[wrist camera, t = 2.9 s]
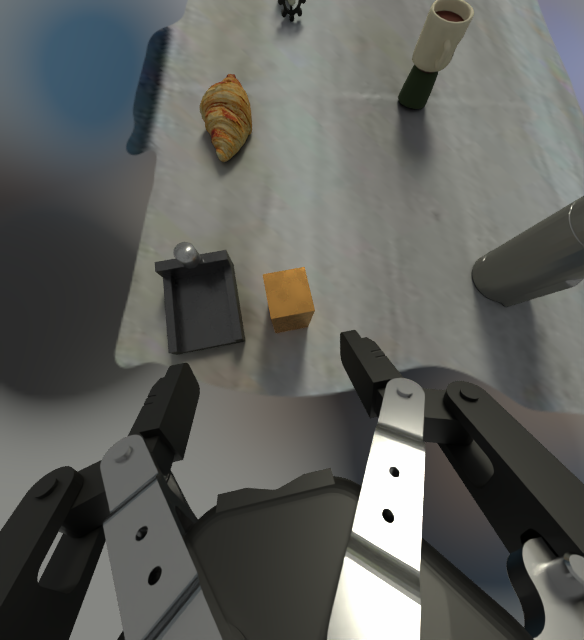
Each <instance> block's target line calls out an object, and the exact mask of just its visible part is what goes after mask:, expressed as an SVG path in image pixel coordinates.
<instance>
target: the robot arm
mask: <svg viewBox="0 0 584 640" xmlns="http://www.w3.org/2000/svg"><path fill="white" fill-rule="evenodd" d="M472 276H473V281H474V283H475V285H476V287H477V288H478V290H479V291H480V292H481V293H482V294H483V295H485V296H486V297H487V298H489V299H491V300H494V301H497V302H501V303H502V304H503V305H504V306H506V307H508V306H512V305H515V304H518V303H522V302H525V301H528V300H531V299H535V298H538V297H541V296H545V295H548V294H551V293H555V292H558V291H561V290H564V289H568V288H571V287H574V286H576V285H577V284H578V283H579V282H581V281H582V280H583V279H584V196H582V197H581V198H579V199H577V200H576V201H574V202H572V203H571V204H569V205H567V206H566V207H564V208H562V209H561V210H559V211H557V212H556V213H554V214H552V215H551V216H549V217H547V218H546V219H544V220H542V221H541V222H539V223H537V224H536V225H534V226H532V227H531V228H529V229H527V230H526V231H524V232H522V233H521V234H519V235H517V236H516V237H514V238H512V239H511V240H509V241H507V242H506V243H504V244H503V245H501V246H499V247H498V248H496V249H494V250H492V251H490V252H489V253H487V254H486V255H484V256H483V257H481V258H480V259H478V260H477V261H476V262H475V264H474V266H473V270H472ZM340 355H341V361H342V364H343V366H344V368H345V370H346V372H347V374H348V376H349V378H350V380H351V382H352V384H353V386H354V388H355V390H356V392H357V394H358V396H359V398H360V400H361V402H362V403H363V406H364V407H365V409H366V411H367V413H368V415H369V417H370V418H374V417H378V418H379V420H378V424H377V426H376V429H375V433H374V437H373V442H372V446H371V450H370V455H369V459H368V463H367V467H366V472H365V476H364V480H363V485H362V486H361V485H359V484H357V483H355V482H353V481H351V480H348V479H346V478H342V477H335V476H333V475H332V471H331V468H328V469H324V470H320V471H315V472H311V473H307V474H303V475H302V476H300V477H298V478H296V479H295V480H293V481H291V482H290V483H287V484H286V485H284V486H282V487H281V488H279V489H276V490H267V489H253V488H244V489H240V490H236V491H231V492H227V493H223V494H219V495H218V499H217V505H216V506H214V507H213V508H211V509H210V510H209V511H207V512H206V513H205V514H204V515H203V516H202V517H201V518H200V519H199V520H198V519H197V517H196V516H195V514H194V513H193V511H192V510H191V508H190V507H189V505H188V503H187V501H186V499H185V497H184V495H183V493H182V491H181V489H180V487H179V485H178V483H177V481H176V479H175V477H174V475H173V473H172V472H171V466H172V463H173V462H175V461H180V460H183V458H184V454H185V450H186V446H187V442H188V439H189V435H190V431H191V426H192V423H193V419H194V415H195V410H196V407H197V403H198V399H199V394H200V388H199V384H198V382H197V380H196V378H195V376H194V374H193V372H192V370H191V368H190V366H189V364H188V363H182V364H177V365H172V366H170V367H169V368H168V371H167V373H166V375H165V377H164V378H160V379H159V380H158V381H157V383H156V384H155V385H154V386H153V387H152V389H151V391H150V393H149V395H148V398H147V399H146V401H145V403H144V406H143V407H142V409H141V411H140V413H139V415H138V417H137V419H136V421H135V423H134V425H133V427H132V429H131V431H130V433H129V435H128V436H127V437H125V438H123V439H121V440H120V441H118V442H117V443H115V444H114V445H113V446H112V447H111V448H110V449H109V450H108V451H107V452H106V454H105V455H104V457H103V459H102V460H101V461H99V462H97V463H95V464H92V465H91V466H89V467H87V468H84V469H82V470H80V471H78V472H77V471H76V470H74V469H73V468H72V467H69V466H65V467H60V468H58V469H55V470H53V471H52V472H50V473H48V474H47V475H45V476H44V477H43V478H41V479H40V480H39V481H38V482H37V483H35V485H33V487H31V489H30V490H29V491H28V492H27V493H26V495H25V496H24V498H23V499H22V501H21V502H20V503H19V505H18V506H17V508H16V509H15V511H14V512H13V514H12V515H11V516H10V518H9V519H8V521H7V522H6V524H5V525H4V527H3V528H2V529H1V531H0V640H69V637H70V635H71V632H72V630H73V627H74V624H75V621H76V619H77V616H78V613H79V611H80V608H81V605H82V602H83V600H84V597H85V595H86V592H87V589H88V587H89V584H90V581H91V579H92V576H93V573H94V570H95V568H96V565H97V562H98V560H99V557H100V554H101V552H102V549H103V546H104V543H105V541H106V544H107V549H108V554H109V559H110V564H111V570H112V575H113V580H114V585H115V590H116V595H117V600H118V606H119V610H120V616H121V621H122V626H123V632H122V633H121V635H120V636H119V638H118V639H117V640H584V484H583V483H582V482H581V481H580V480H579V479H578V478H577V477H576V476H575V475H574V474H572V473H571V472H570V471H569V470H568V469H567V468H566V467H565V466H564V465H563V464H562V463H561V462H560V461H559V460H558V459H557V458H556V457H555V456H553V455H552V454H551V453H550V452H549V451H548V450H547V449H546V448H545V447H544V446H543V445H542V444H541V443H540V442H539V441H538V440H537V439H535V438H534V437H533V436H532V435H531V434H530V433H529V432H528V431H527V430H526V429H525V428H524V427H523V426H522V425H521V424H520V423H518V421H517V420H515V419H514V418H513V417H512V416H511V415H510V414H509V413H508V412H507V411H506V410H505V409H504V408H503V407H502V406H501V405H499V404H498V402H496V401H495V400H494V399H493V398H492V397H491V396H490V395H489V394H488V393H487V392H486V391H485V390H483V389H482V388H480V387H479V386H477V385H474V384H472V383H469V382H464V381H455V382H452V383H450V384H449V385H448V386H447V389H446V390H435V389H424V388H421V387H420V386H419V385H418V384H417V383H415V382H414V381H411V380H409V379H405V378H403V377H402V375H401V374H400V373H399V372H398V370H397V369H396V368H395V366H394V365H393V364H392V363H391V361H390V360H389V359H388V358H387V356H385V354H384V353H383V351H381V349H380V348H379V346H378V345H377V344H376V343H375V342H374V341H372V340H371V339H369V338H367V337H365V338H361V337H360V335H359V334H358V333H357V331H356V330H351V331H346V332H341V334H340ZM423 441H425V442H434V443H438V445H439V446H440V448H441V449H442V451H443V452H444V454H445V455H446V457H447V458H448V460H449V462H450V463H451V464H452V466H453V468H454V469H455V471H456V472H457V474H458V475H459V477H460V478H461V480H462V481H463V483H464V484H465V486H466V487H467V489H468V490H469V492H470V493H471V495H472V497H473V498H474V500H475V501H476V503H477V504H478V506H479V507H480V509H481V510H482V512H483V513H484V515H485V516H486V518H487V519H488V521H489V523H490V524H491V525H492V527H493V528H494V530H495V532H496V533H497V535H498V536H499V538H500V539H501V541H502V542H503V544H504V545H505V547H506V548H507V550H508V551H509V553H510V555H509V556H508V558H507V563H506V564H507V565H506V567H507V573H508V577H509V579H510V582H511V584H512V586H513V588H514V590H515V592H516V594H517V596H518V598H519V601H520V603H521V606H522V610H523V613H524V627H523V626H522V625H521V624H520V623H519V622H518V621H517V620H516V619H514V617H513V616H512V615H510V614H509V613H508V612H507V611H506V610H505V609H504V608H503V607H501V606H500V605H499V604H498V603H497V602H496V601H495V600H493V599H492V598H491V597H490V596H489V595H488V594H486V593H485V592H484V591H483V590H482V589H481V588H480V587H478V586H477V585H476V584H475V583H474V582H473V581H472V580H470V579H469V578H468V577H467V576H466V575H465V574H463V573H462V572H461V571H460V570H459V569H458V568H456V567H455V566H454V565H453V564H452V563H451V562H450V561H448V560H447V559H446V558H445V557H444V556H443V555H442V554H440V553H439V552H438V551H437V550H436V549H435V548H434V547H432V546H431V545H430V544H429V543H428V542H427V541H425V540H424V539H423V538H422V537H421V529H422V526H421V525H422V506H423V484H424V461H425V443H424V442H423ZM58 531H59V532H61V533H63V535H62V537H61V539H60V541H59V543H58V545H57V547H56V549H55V551H54V553H53V555H52V557H51V559H50V561H49V563H48V565H47V567H46V569H45V571H44V573H43V574H42V576H41V578H40V581H39V582H38V581H37V576H38V572H39V568H40V566H41V564H42V562H43V560H44V558H45V556H46V554H47V552H48V551H49V549H50V547H51V545H52V543H53V541H54V539H55V537H56V535H57V533H58Z"/></svg>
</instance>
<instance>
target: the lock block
mask: <svg viewBox="0 0 584 640" xmlns="http://www.w3.org/2000/svg"><path fill="white" fill-rule="evenodd" d="M263 279H264V284H265V290H266V295H267V300H268V306H269V311H270V316H271V320H272V324H273V327H274V330H275V333H280V332H285V331H290V330H295V329H300V328H305V327H308V325H309V323H310V321H311V318H312V316H313V314H314V311H315V309H314V305H313V301H312V296H311V292H310V288H309V284H308V280H307V275H306V271H305V267H301V268H296V269H290V270H285V271H279V272H274V273H268V274H263Z"/></svg>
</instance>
